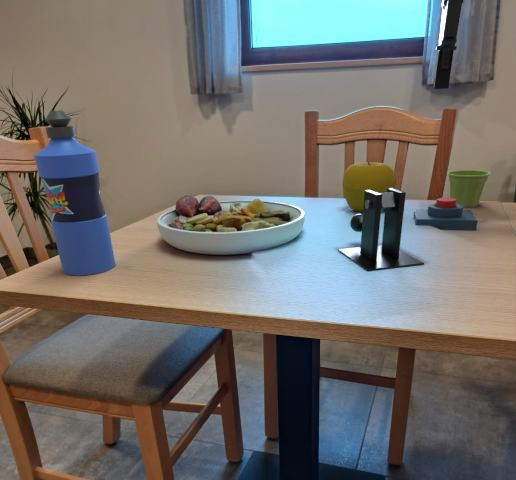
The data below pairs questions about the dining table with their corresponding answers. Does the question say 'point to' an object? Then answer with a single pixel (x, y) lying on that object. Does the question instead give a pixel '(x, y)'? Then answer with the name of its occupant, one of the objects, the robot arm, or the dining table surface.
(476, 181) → the plant pot
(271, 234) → the bowl
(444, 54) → the robot arm
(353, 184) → the apple
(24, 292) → the dining table surface
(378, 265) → the stand
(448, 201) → the red button
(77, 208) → the water bottle
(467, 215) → the button box
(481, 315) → the dining table surface
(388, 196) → the switch lever
